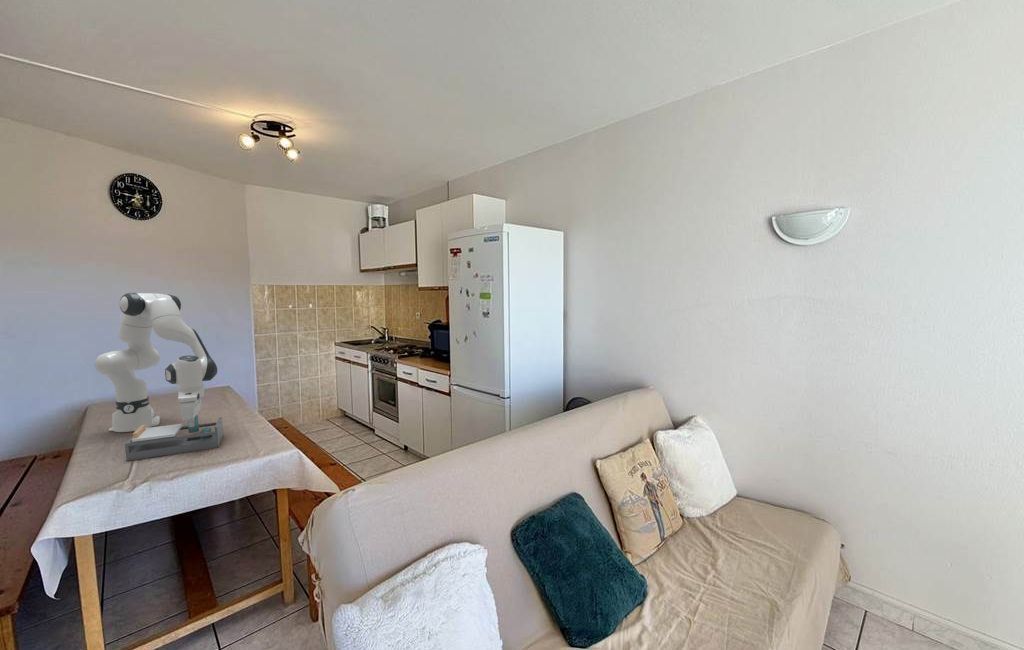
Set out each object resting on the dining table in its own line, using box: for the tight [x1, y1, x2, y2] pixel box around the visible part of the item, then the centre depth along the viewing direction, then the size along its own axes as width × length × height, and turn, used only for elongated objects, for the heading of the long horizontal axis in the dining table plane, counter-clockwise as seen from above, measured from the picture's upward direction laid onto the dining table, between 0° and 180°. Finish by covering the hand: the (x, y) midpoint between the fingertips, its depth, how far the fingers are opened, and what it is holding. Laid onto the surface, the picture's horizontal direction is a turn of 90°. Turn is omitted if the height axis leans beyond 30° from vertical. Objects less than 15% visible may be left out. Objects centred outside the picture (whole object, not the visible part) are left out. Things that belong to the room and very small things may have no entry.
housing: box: [124, 417, 224, 462], centre depth 176 cm, size 15×30×9 cm, turn 119°
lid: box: [132, 423, 184, 442], centre depth 173 cm, size 15×14×3 cm
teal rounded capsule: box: [187, 415, 200, 434], centre depth 178 cm, size 4×4×6 cm
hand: (193, 424), depth 179 cm, fingers closed on teal rounded capsule, 4 cm apart
